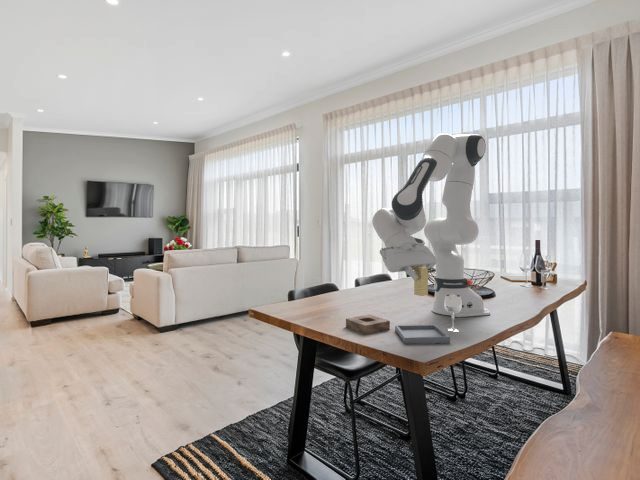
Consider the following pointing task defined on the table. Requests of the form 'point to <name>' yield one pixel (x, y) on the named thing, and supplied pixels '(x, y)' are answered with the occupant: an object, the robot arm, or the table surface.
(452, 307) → the wineglass
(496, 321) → the table surface
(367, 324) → the block
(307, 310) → the table surface
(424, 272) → the yellow rectangular block
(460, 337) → the table surface
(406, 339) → the tray
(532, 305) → the table surface
